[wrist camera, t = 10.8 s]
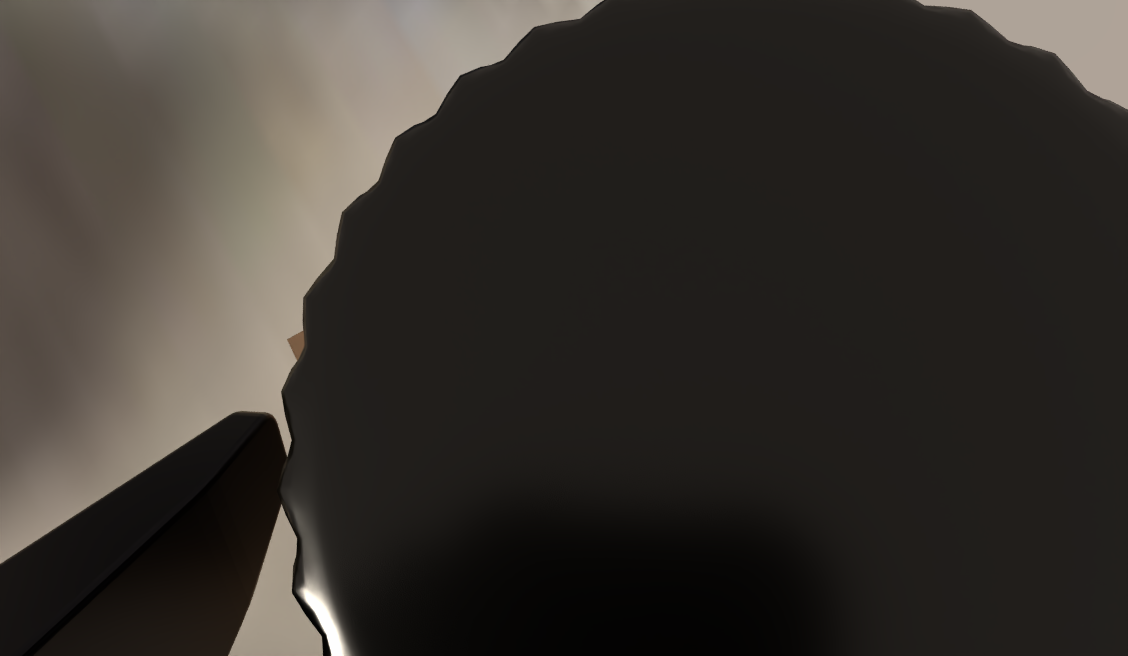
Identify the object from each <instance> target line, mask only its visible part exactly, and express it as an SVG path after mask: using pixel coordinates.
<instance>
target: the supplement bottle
mask: <svg viewBox="0 0 1128 656" xmlns="http://www.w3.org/2000/svg"><path fill="white" fill-rule="evenodd" d="M303 331H304V345H305V346H304V348H303V350H302V353H301V355H300V357H299V359H298V361H297V362H296V364H295V365H294V366H293V368H292V369H291V371H290V373H289V375H288V378H287V380H286V382H285V384H284V386H283V389H282V391H281V393H282V399H283V406H284V412H285V417H286V421H287V424H288V428H289V432H290V435H291V439H292V441H291V445H290V449H289V454H288V457H287V459H286V461H285V463H284V465H283V468H282V472H281V476H280V480H279V484H278V489H277V492H278V495H279V498H280V501H281V503H282V506H283V509H284V511H285V514H286V516H287V518H288V520H289V522H290V524H291V527H292V529H293V531H294V533H295V535H296V537H297V552H296V558H295V562H294V565H293V583H292V594H293V595H294V597H295V598H296V600H297V602H298V603H299V605H300V607H301V608H302V610H303V611H304V613H305V615H306V616H307V617H308V619H309V620H310V621H311V623H312V624H313V625H314V627H315V628H316V629H317V631H318V632H319V633H320V635H321V636H322V644H323V656H1128V110H1127V109H1125V108H1123V107H1121V106H1119V105H1118V104H1116V103H1114V102H1111V101H1109V100H1106V99H1102V98H1100V97H1098V96H1096V95H1094V94H1092V93H1090V92H1089V91H1087V90H1086V89H1085V88H1084V87H1083V85H1082V84H1081V83H1080V81H1079V80H1078V79H1077V78H1076V77H1075V75H1074V74H1073V73H1072V72H1071V71H1070V69H1069V68H1068V67H1067V66H1066V65H1065V64H1064V63H1063V62H1062V61H1061V59H1060V58H1059V57H1058V56H1056V54H1055V53H1052V52H1048V51H1045V50H1042V49H1039V48H1036V47H1032V46H1023V45H1020V44H1017V43H1013V42H1010V41H1008V40H1007V39H1006V38H1005V37H1003V36H1002V35H1001V34H1000V33H999V32H998V31H997V30H995V29H994V28H993V27H992V26H991V25H990V24H988V23H987V22H986V21H985V20H983V19H982V18H981V17H979V16H978V15H977V14H976V13H974V12H973V11H971V10H967V9H959V8H952V7H941V6H924V5H922V4H921V3H919V2H918V1H916V0H604V1H602V2H601V3H599V4H598V5H596V6H595V7H594V8H593V9H592V10H590V11H589V12H588V13H587V14H585V15H584V16H583V17H582V18H581V19H576V20H568V21H560V22H554V23H550V24H545V25H541V26H537V27H534V28H533V29H532V30H531V31H530V32H529V33H528V34H527V35H526V36H525V37H524V38H522V39H521V40H520V41H519V42H518V44H517V45H516V46H515V47H514V48H513V49H512V51H511V52H510V53H509V54H508V55H507V57H506V58H505V59H504V60H502V61H500V62H497V63H495V64H492V65H489V66H483V67H479V68H477V69H475V70H472V71H470V72H468V73H465V74H463V75H460V76H459V78H458V79H457V81H456V82H455V83H454V85H453V86H452V88H451V89H450V91H449V92H448V93H447V95H446V97H445V99H444V101H443V102H442V104H441V106H440V108H439V109H438V111H437V113H436V114H435V115H434V116H432V117H430V118H429V119H427V120H426V121H424V122H422V123H419V124H417V125H414V126H412V127H411V128H409V129H408V130H406V131H405V132H403V133H402V134H400V135H399V136H397V137H396V138H395V139H394V141H393V144H392V146H391V148H390V151H389V153H388V155H387V157H386V160H385V163H384V166H383V169H382V172H381V175H380V178H379V181H378V182H377V183H376V184H375V185H373V186H372V187H371V188H370V189H369V190H368V191H367V192H365V193H364V194H362V195H360V196H359V197H358V198H357V199H356V200H355V201H353V202H352V203H351V204H350V205H349V206H348V207H347V208H346V209H345V210H344V211H343V212H342V215H341V219H340V224H339V228H338V233H337V239H336V247H335V255H334V259H333V260H332V262H331V263H330V264H329V265H328V266H327V267H326V269H325V270H324V271H323V272H322V273H321V274H320V276H319V277H318V278H317V279H316V281H315V282H314V284H313V285H312V286H311V288H310V289H309V291H308V292H307V293H306V295H305V296H304V298H303Z"/></svg>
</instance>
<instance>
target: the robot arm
mask: <svg viewBox="0 0 1128 656" xmlns="http://www.w3.org/2000/svg"><path fill="white" fill-rule="evenodd" d="M286 459H287V455H286V452H285V448H284V445H283V441H282V438H281V434H280V431H279V427H278V424H277V421H276V419H275V418H274V417H273V415H271V414H269V413H266V412H248V411H239V412H235V413H232V414H231V415H229V416H227V417H226V418H224V419H223V420H221V421H220V422H218V423H216V424H215V425H213V426H212V427H210V428H209V429H207V430H206V431H204V432H203V433H201V434H200V435H198V436H196V437H195V438H193V439H192V440H190V441H189V442H187V443H186V444H184V445H183V446H181V447H180V448H178V449H176V450H175V451H173V452H172V453H170V454H169V455H167V456H166V457H164V458H163V459H161V460H160V461H158V462H156V463H155V464H153V465H152V466H150V467H149V468H147V469H146V470H144V471H143V472H141V473H140V474H138V475H136V476H135V477H133V478H132V479H130V480H129V481H127V482H126V483H124V484H123V485H121V486H120V487H118V488H116V489H115V490H113V491H112V492H110V493H109V494H107V495H106V496H104V497H103V498H101V499H100V500H98V501H96V502H95V503H93V504H92V505H90V506H89V507H87V508H86V509H84V510H83V511H81V512H80V513H78V514H76V515H75V516H73V517H72V518H70V519H69V520H67V521H66V522H64V523H63V524H61V525H60V526H58V527H57V528H55V529H53V530H52V531H50V532H49V533H47V534H46V535H44V536H43V537H41V538H40V539H38V540H37V541H35V542H33V543H32V544H30V545H29V546H27V547H26V548H24V549H23V550H21V551H20V552H18V553H17V554H15V555H13V556H12V557H10V558H9V559H7V560H6V561H4V562H3V563H1V564H0V656H228V655H229V652H230V650H231V648H232V646H233V643H234V641H235V639H236V636H237V634H238V632H239V629H240V627H241V625H242V622H243V620H244V617H245V615H246V612H247V610H248V608H249V605H250V602H251V600H252V597H253V594H254V591H255V588H256V585H257V582H258V578H259V575H260V572H261V569H262V565H263V562H264V559H265V556H266V553H267V549H268V546H269V543H270V540H271V536H272V533H273V530H274V527H275V523H276V520H277V517H278V514H279V510H280V507H281V504H282V503H281V501H280V498H279V495H278V492H277V489H278V484H279V480H280V476H281V472H282V468H283V465H284V463H285V461H286Z"/></svg>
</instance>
